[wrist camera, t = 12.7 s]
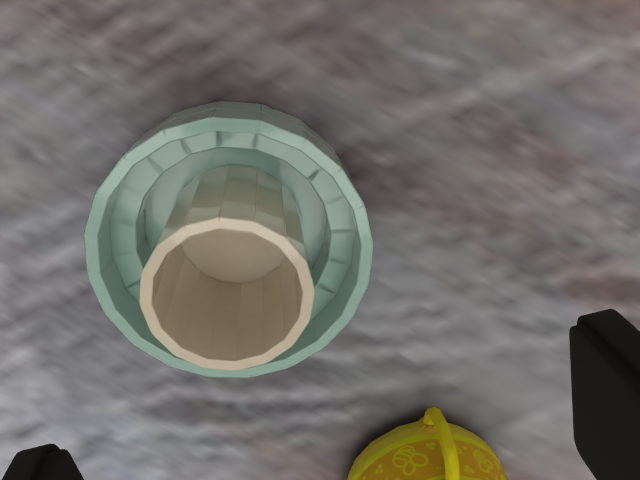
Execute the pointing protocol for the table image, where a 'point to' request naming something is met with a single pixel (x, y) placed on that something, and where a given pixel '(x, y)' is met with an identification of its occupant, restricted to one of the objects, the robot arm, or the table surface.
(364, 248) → the bowl
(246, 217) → the cup
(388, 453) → the mug
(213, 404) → the table surface
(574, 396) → the robot arm
